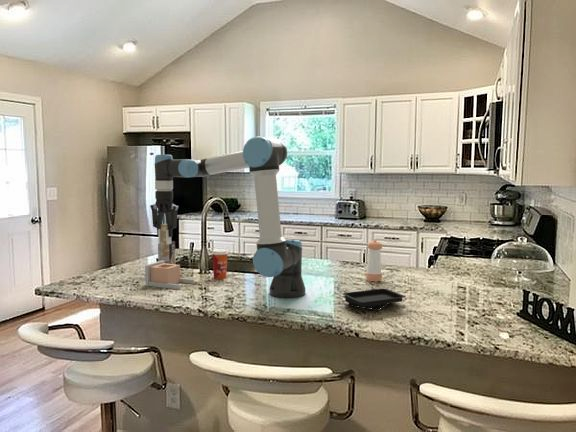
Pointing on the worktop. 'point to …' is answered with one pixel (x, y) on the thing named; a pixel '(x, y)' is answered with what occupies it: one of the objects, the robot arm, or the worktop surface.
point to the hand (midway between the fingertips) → (165, 243)
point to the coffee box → (171, 257)
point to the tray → (372, 298)
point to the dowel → (164, 241)
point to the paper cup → (219, 263)
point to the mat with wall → (158, 284)
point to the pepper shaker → (374, 262)
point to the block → (166, 273)
